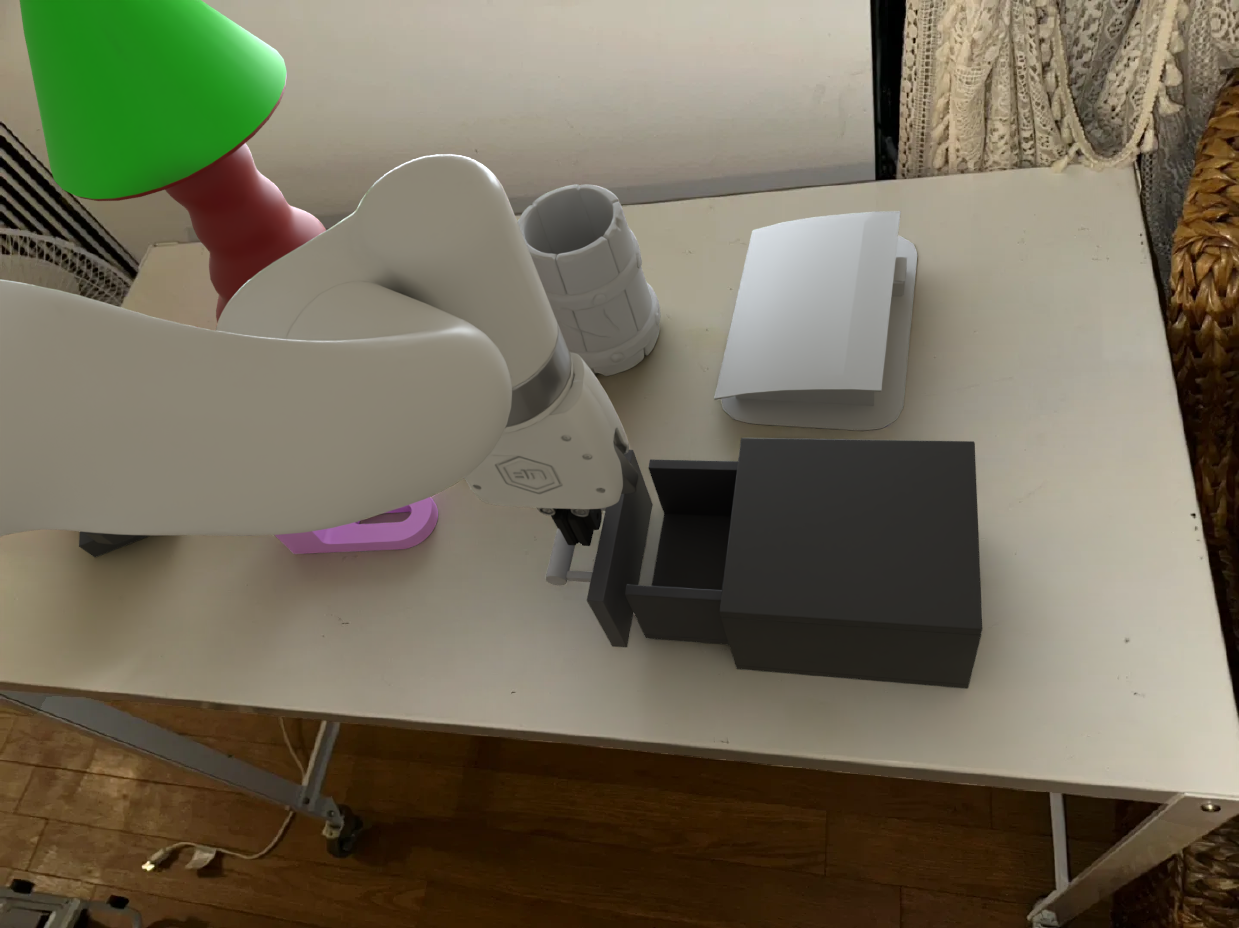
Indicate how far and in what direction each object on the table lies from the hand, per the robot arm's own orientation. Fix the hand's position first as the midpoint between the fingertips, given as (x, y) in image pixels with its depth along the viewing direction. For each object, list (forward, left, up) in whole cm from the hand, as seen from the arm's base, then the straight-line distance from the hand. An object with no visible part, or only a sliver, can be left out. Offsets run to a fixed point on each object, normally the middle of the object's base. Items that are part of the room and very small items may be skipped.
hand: (583, 528), depth 66 cm
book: (+30, +3, -8) cm, 31 cm away
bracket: (-10, +21, -8) cm, 24 cm away
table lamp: (0, +41, -8) cm, 41 cm away
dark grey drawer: (+4, -6, -7) cm, 10 cm away
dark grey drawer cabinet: (+11, -15, -8) cm, 20 cm away
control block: (-22, +44, -8) cm, 50 cm away
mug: (+16, +21, -8) cm, 27 cm away
